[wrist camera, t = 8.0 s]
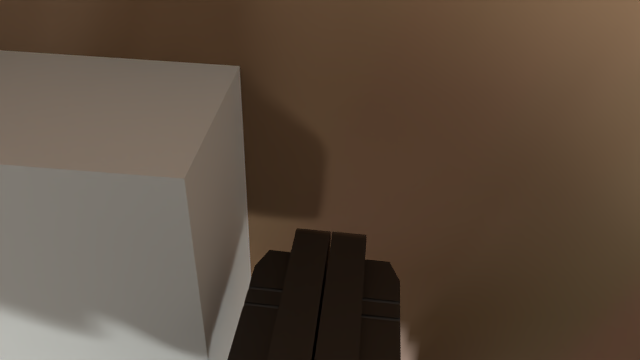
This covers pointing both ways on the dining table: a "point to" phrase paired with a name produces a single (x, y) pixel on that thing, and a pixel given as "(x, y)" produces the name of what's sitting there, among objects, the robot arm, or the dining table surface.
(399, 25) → the dining table surface
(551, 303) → the dining table surface
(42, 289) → the block
